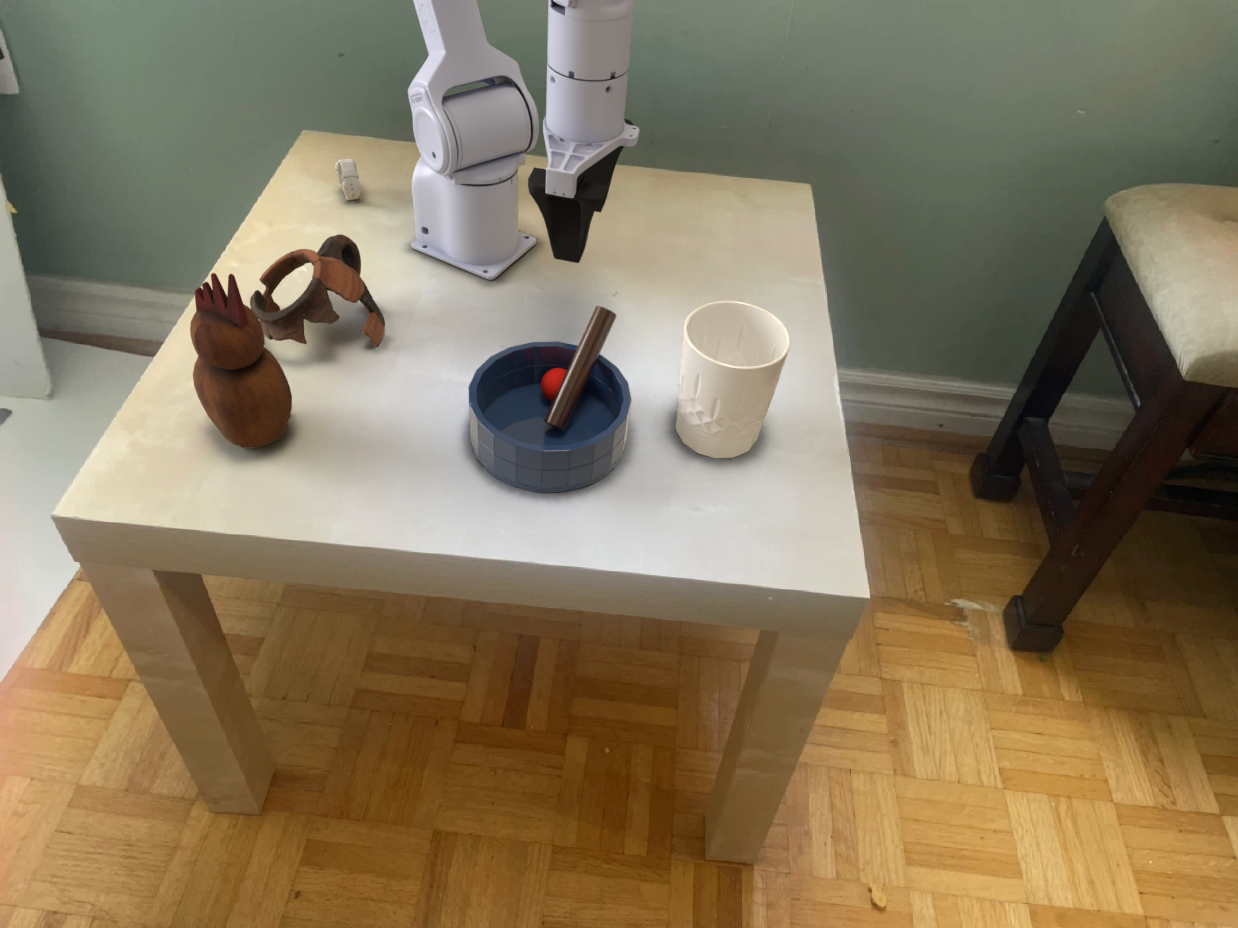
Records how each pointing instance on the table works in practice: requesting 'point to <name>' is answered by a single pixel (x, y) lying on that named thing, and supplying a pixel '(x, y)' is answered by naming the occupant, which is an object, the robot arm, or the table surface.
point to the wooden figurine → (237, 369)
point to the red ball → (552, 382)
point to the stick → (580, 368)
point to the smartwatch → (348, 178)
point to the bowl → (517, 409)
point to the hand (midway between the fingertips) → (579, 232)
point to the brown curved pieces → (316, 291)
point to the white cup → (728, 376)
